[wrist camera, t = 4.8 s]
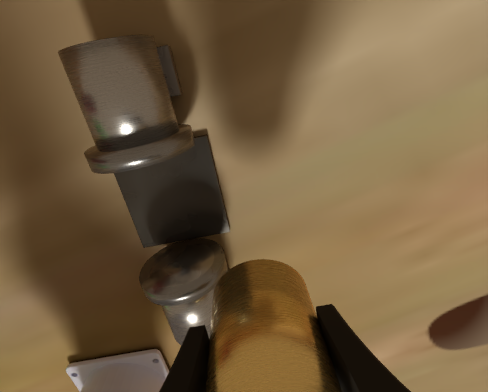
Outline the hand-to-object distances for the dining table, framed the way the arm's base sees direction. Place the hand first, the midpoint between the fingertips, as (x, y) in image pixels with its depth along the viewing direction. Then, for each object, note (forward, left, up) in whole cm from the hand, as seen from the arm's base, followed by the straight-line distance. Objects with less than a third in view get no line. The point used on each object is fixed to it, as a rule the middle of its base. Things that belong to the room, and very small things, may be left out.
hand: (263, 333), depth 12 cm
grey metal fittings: (+3, +4, -9) cm, 10 cm away
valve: (0, 0, -2) cm, 2 cm away
